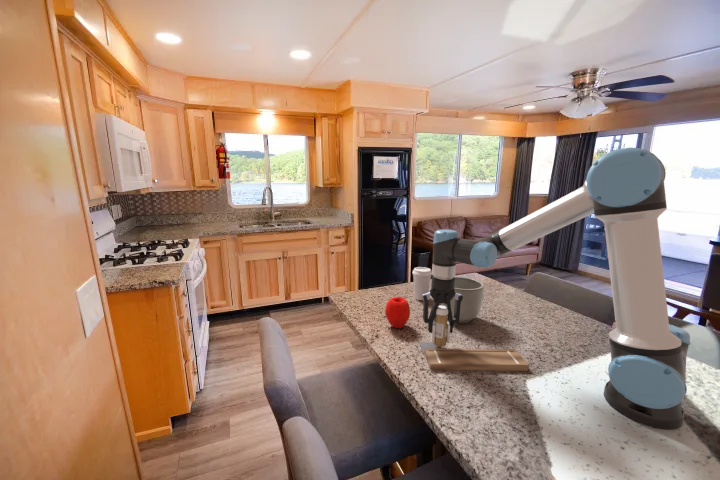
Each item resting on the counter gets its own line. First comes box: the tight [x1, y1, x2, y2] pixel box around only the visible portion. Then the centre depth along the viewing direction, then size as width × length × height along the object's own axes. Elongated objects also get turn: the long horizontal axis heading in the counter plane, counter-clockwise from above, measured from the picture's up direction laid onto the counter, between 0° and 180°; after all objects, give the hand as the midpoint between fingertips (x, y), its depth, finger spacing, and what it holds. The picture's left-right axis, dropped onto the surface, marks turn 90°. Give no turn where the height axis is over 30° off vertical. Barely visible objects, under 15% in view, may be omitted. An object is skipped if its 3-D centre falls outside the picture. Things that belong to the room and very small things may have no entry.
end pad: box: [418, 341, 442, 355], centre depth 107 cm, size 7×7×1 cm
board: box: [424, 347, 530, 372], centre depth 99 cm, size 9×30×2 cm, turn 89°
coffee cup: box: [412, 266, 433, 301], centre depth 151 cm, size 10×10×15 cm
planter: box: [440, 276, 485, 324], centre depth 128 cm, size 17×17×16 cm
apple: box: [384, 296, 411, 329], centre depth 122 cm, size 10×10×12 cm
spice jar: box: [433, 304, 448, 348], centre depth 105 cm, size 5×5×14 cm
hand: (439, 340), depth 106 cm, fingers closed on spice jar, 4 cm apart
